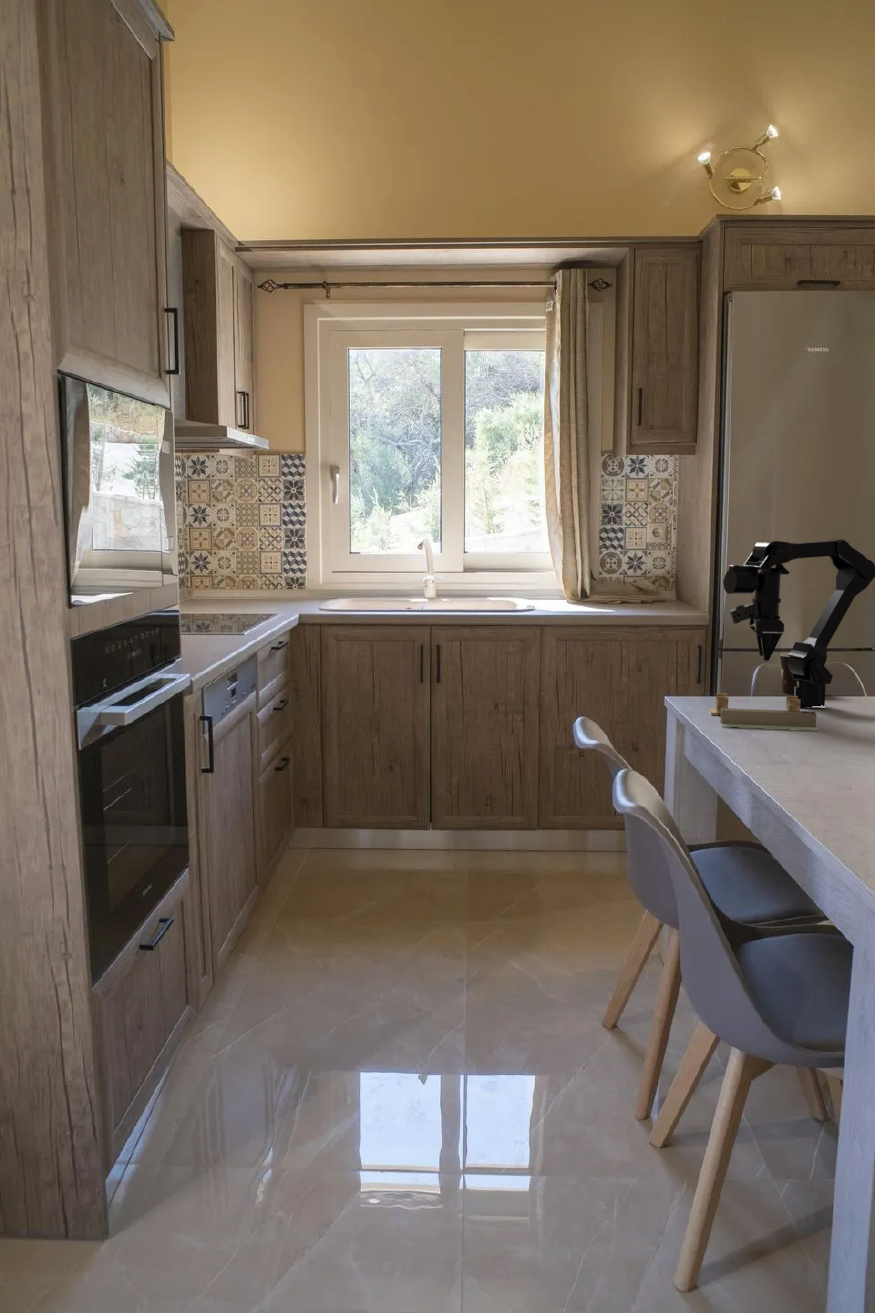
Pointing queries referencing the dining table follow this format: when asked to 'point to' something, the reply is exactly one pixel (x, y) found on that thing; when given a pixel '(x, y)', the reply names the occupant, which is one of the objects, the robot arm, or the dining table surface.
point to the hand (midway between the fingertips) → (764, 658)
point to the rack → (722, 702)
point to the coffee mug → (787, 676)
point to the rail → (768, 717)
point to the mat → (768, 727)
